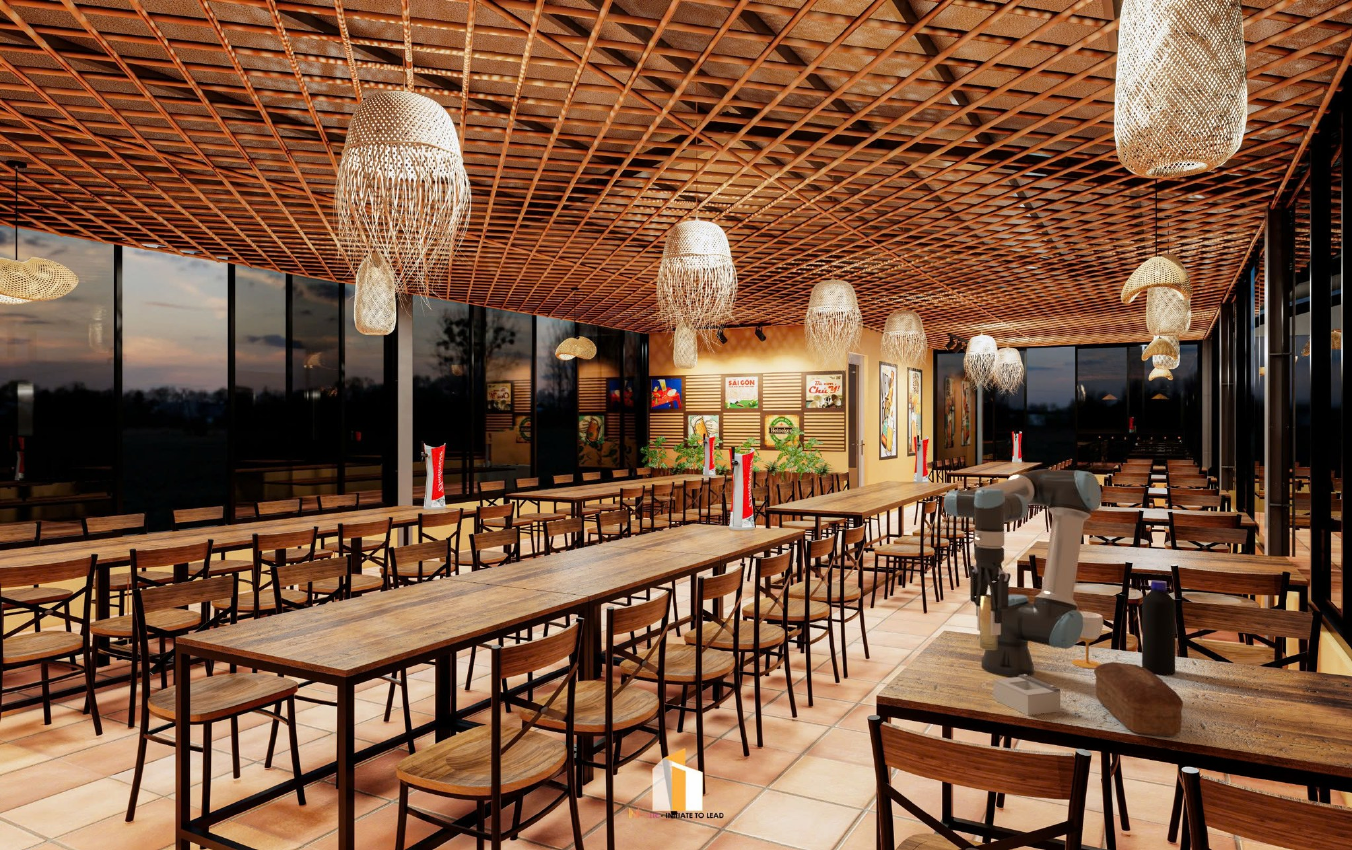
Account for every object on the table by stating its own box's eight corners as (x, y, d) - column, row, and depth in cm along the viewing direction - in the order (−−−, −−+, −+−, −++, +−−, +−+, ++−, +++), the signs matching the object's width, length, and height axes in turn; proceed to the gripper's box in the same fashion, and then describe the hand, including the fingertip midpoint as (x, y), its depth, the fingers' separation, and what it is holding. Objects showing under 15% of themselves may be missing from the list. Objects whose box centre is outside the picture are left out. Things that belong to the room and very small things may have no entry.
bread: (1142, 701, 214) (1142, 657, 215) (1190, 742, 187) (1190, 691, 187) (1088, 698, 217) (1088, 654, 217) (1127, 737, 189) (1128, 687, 189)
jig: (1024, 695, 218) (1024, 672, 218) (1060, 711, 206) (1060, 687, 206) (993, 699, 215) (993, 676, 215) (1027, 715, 203) (1028, 691, 203)
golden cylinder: (989, 645, 212) (989, 593, 212) (1001, 649, 208) (1001, 597, 208) (976, 646, 210) (976, 595, 210) (987, 650, 206) (987, 598, 206)
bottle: (1180, 676, 237) (1180, 585, 237) (1148, 674, 239) (1149, 583, 239) (1168, 668, 245) (1168, 579, 246) (1137, 666, 247) (1138, 578, 247)
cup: (1109, 669, 244) (1109, 618, 244) (1080, 668, 244) (1080, 617, 244) (1093, 660, 253) (1094, 611, 253) (1066, 660, 253) (1066, 611, 253)
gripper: (956, 542, 216) (955, 625, 216) (1001, 551, 200) (1000, 642, 200) (978, 540, 219) (978, 623, 218) (1024, 550, 202) (1024, 639, 202)
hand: (988, 632), depth 209 cm, fingers closed on golden cylinder, 4 cm apart
